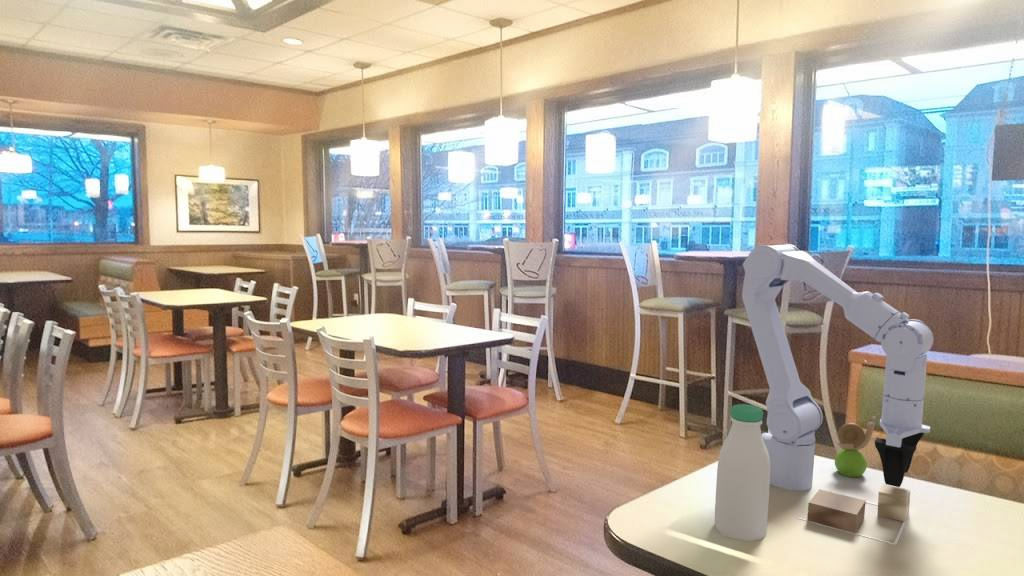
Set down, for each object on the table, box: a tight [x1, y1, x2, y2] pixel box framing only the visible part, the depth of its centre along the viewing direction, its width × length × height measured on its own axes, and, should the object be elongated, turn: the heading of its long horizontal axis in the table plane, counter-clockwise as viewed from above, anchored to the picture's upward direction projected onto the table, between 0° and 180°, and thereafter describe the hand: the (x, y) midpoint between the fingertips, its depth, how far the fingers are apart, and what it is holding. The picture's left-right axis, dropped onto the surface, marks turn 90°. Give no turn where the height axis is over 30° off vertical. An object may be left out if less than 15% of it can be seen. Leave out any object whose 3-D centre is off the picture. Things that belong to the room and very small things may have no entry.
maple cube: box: [876, 483, 911, 522], centre depth 113 cm, size 4×4×4 cm
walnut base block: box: [806, 489, 867, 534], centre depth 111 cm, size 7×7×3 cm
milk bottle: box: [714, 403, 771, 542], centre depth 106 cm, size 8×8×20 cm
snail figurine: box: [834, 415, 877, 478], centre depth 130 cm, size 5×6×12 cm
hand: (896, 477), depth 112 cm, fingers open, 7 cm apart
